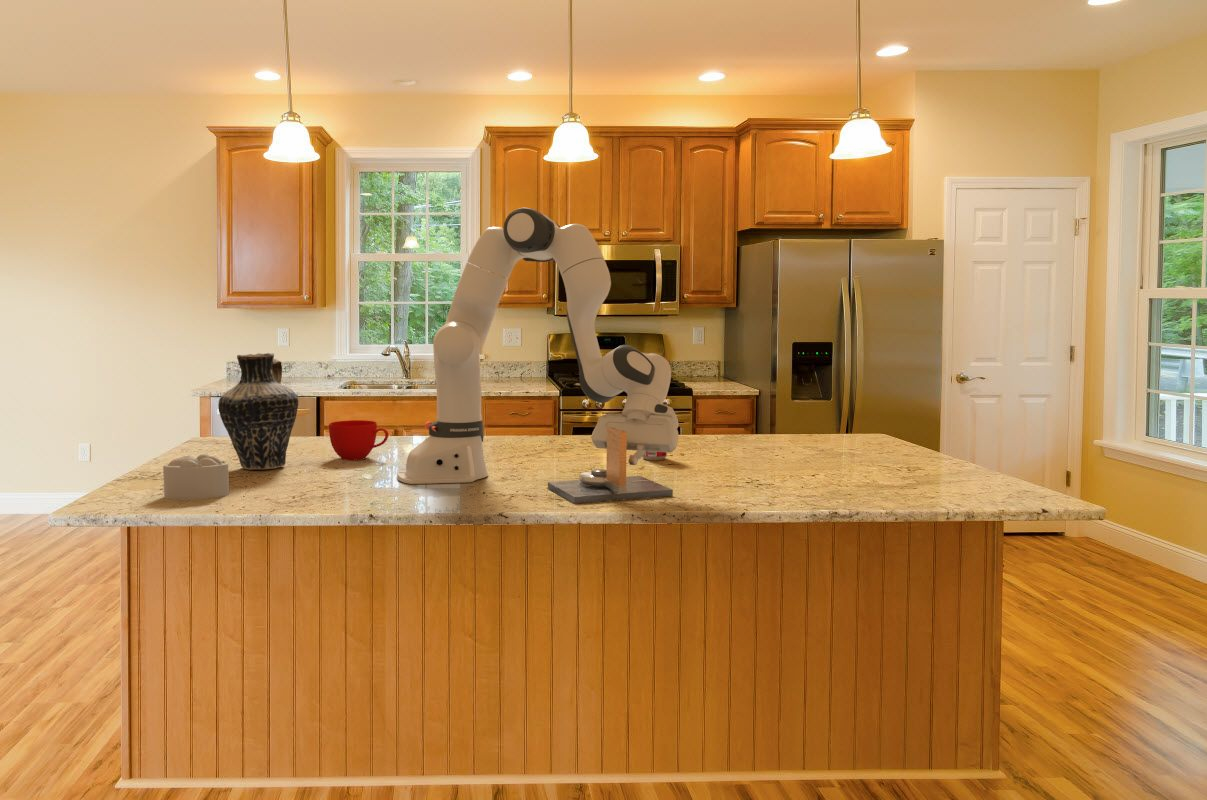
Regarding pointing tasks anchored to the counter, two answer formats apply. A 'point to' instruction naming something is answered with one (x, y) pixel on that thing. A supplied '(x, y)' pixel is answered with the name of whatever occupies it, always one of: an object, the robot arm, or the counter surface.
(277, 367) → the jug
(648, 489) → the base plate
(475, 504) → the counter surface
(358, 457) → the ceramic cup
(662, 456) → the soda can
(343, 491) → the counter surface
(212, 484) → the lumpy-topped squat cylinder
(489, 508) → the counter surface
